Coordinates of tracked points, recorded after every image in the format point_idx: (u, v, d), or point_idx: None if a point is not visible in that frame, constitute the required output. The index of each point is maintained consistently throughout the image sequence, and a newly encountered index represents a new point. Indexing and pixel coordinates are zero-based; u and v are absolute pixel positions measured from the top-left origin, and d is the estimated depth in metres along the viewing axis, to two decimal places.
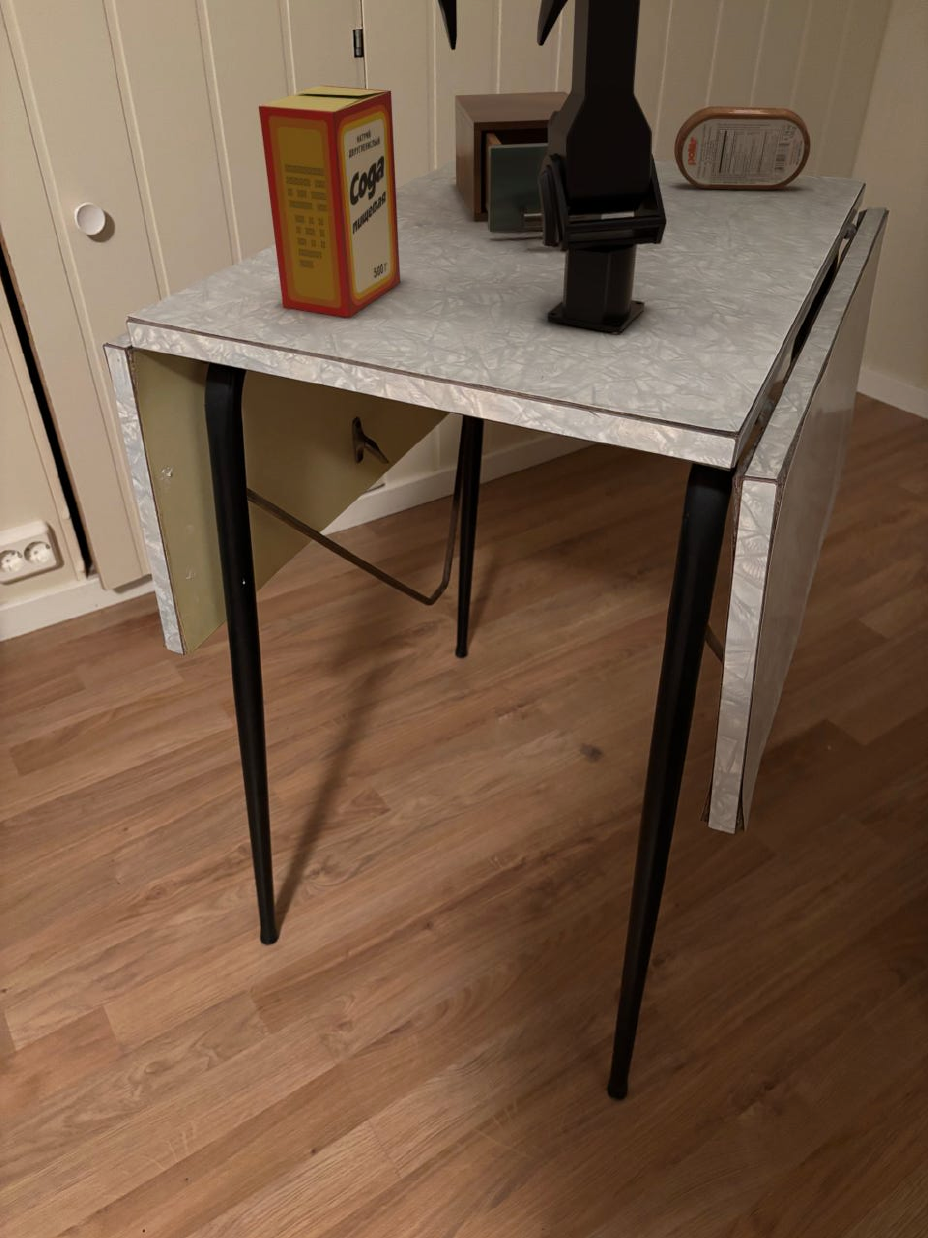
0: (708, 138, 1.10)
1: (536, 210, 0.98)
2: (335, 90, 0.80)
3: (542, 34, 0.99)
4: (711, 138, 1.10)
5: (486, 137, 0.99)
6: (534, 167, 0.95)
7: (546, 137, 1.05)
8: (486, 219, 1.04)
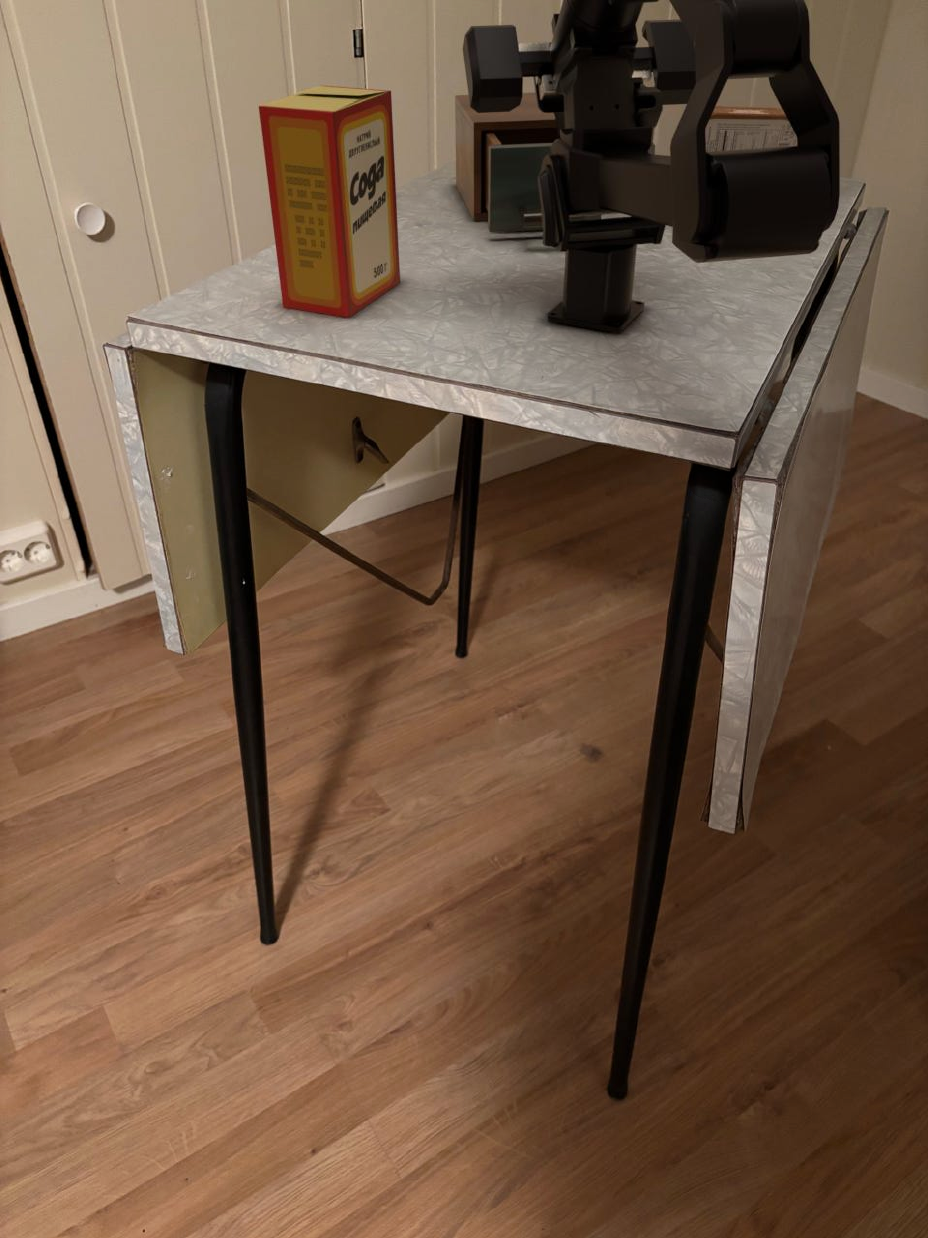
0: (708, 138, 1.10)
1: (536, 210, 0.98)
2: (335, 90, 0.80)
3: None
4: (711, 138, 1.10)
5: (486, 137, 0.99)
6: (534, 167, 0.95)
7: (546, 137, 1.05)
8: (486, 219, 1.04)
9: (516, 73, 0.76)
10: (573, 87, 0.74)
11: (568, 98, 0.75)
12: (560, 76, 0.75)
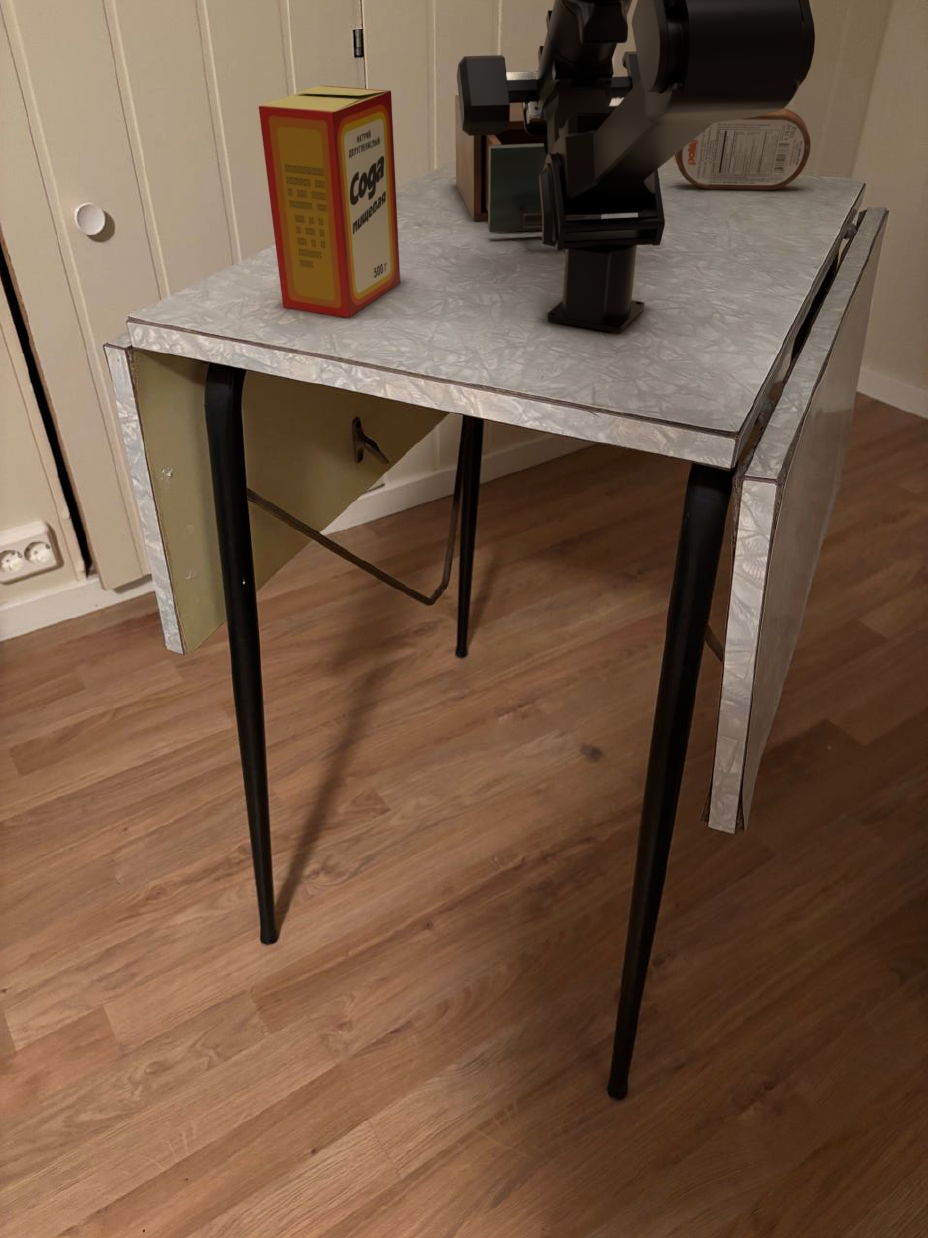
0: (708, 138, 1.10)
1: (536, 210, 0.98)
2: (335, 90, 0.80)
3: None
4: (711, 138, 1.10)
5: (486, 137, 0.99)
6: (534, 167, 0.95)
7: None
8: (486, 219, 1.04)
9: (504, 100, 0.83)
10: (554, 115, 0.81)
11: (550, 124, 0.82)
12: (543, 104, 0.82)
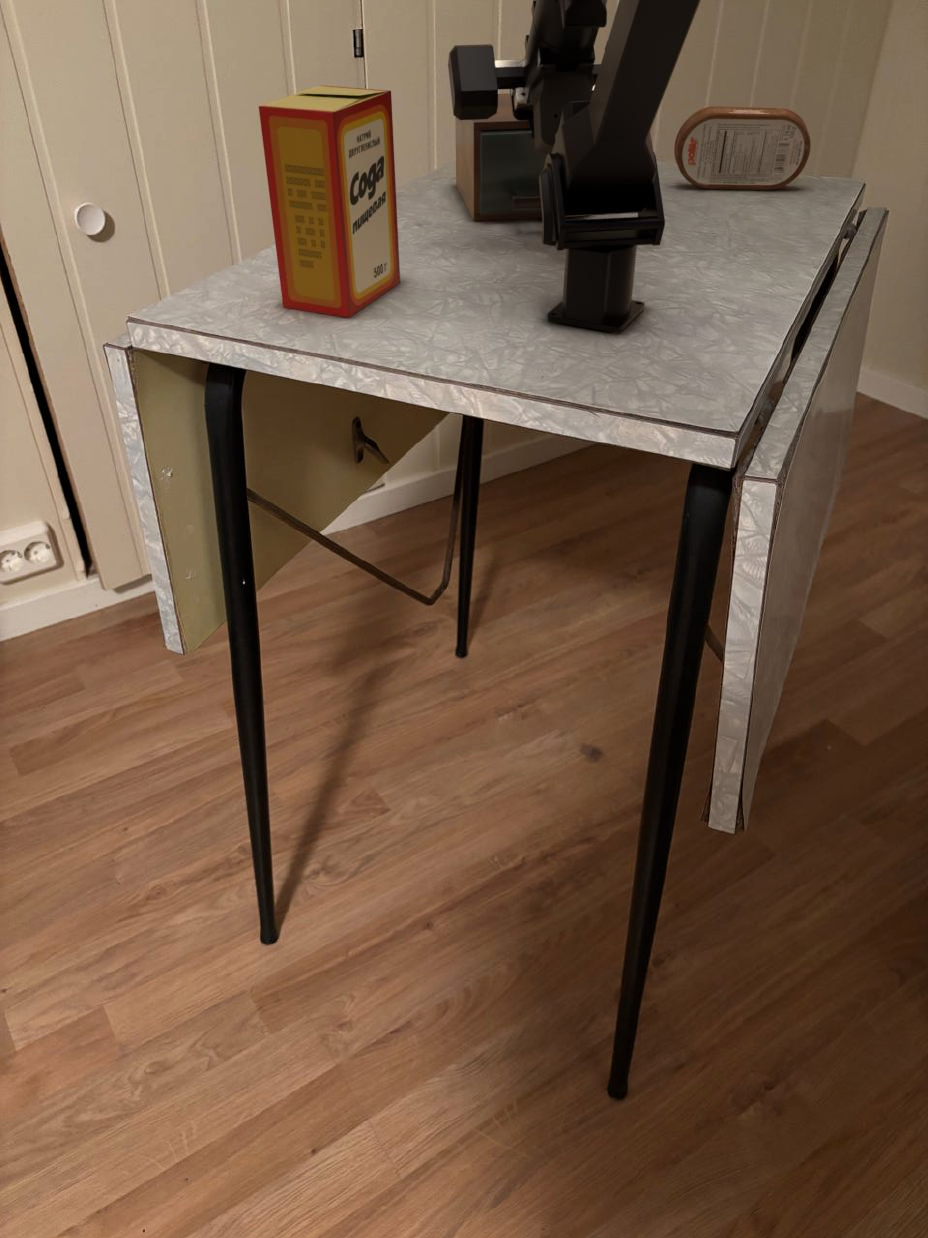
0: (708, 138, 1.10)
1: (525, 194, 1.02)
2: (335, 90, 0.80)
3: None
4: (711, 138, 1.10)
5: None
6: (523, 153, 1.00)
7: None
8: (486, 219, 1.04)
9: (492, 86, 0.88)
10: (540, 98, 0.86)
11: (536, 108, 0.87)
12: (529, 89, 0.87)
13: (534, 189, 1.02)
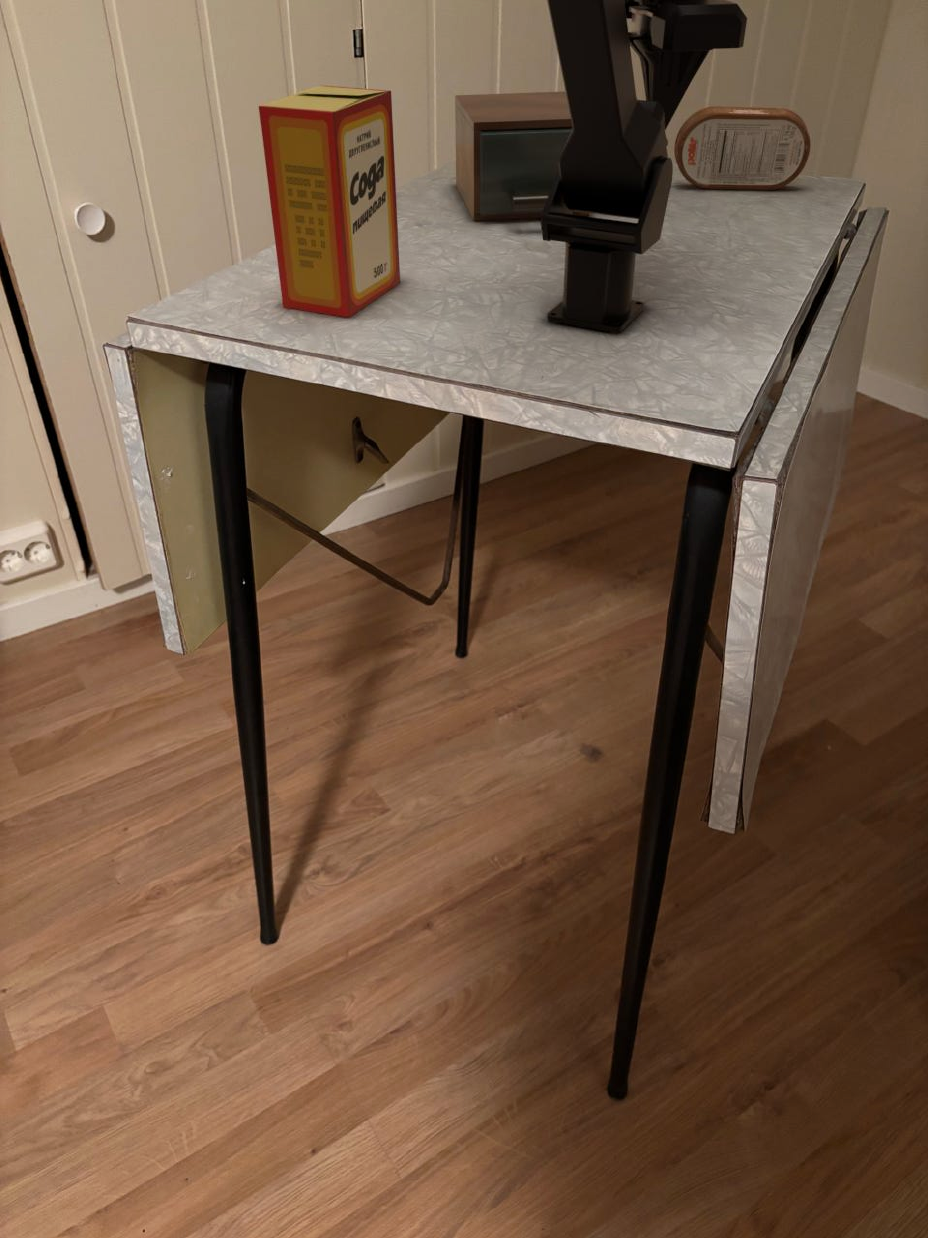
0: (708, 138, 1.10)
1: (525, 194, 1.02)
2: (335, 90, 0.80)
3: None
4: (711, 138, 1.10)
5: None
6: (523, 153, 1.00)
7: None
8: (486, 219, 1.04)
9: None
10: None
11: None
12: None
13: (534, 189, 1.02)
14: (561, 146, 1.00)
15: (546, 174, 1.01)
